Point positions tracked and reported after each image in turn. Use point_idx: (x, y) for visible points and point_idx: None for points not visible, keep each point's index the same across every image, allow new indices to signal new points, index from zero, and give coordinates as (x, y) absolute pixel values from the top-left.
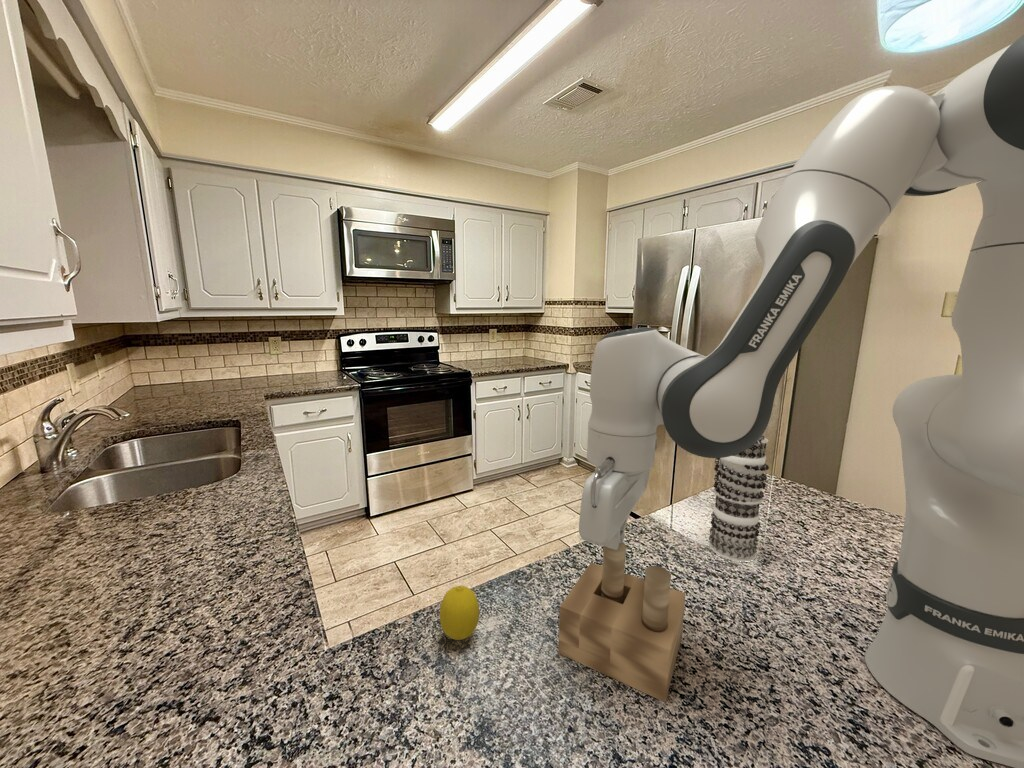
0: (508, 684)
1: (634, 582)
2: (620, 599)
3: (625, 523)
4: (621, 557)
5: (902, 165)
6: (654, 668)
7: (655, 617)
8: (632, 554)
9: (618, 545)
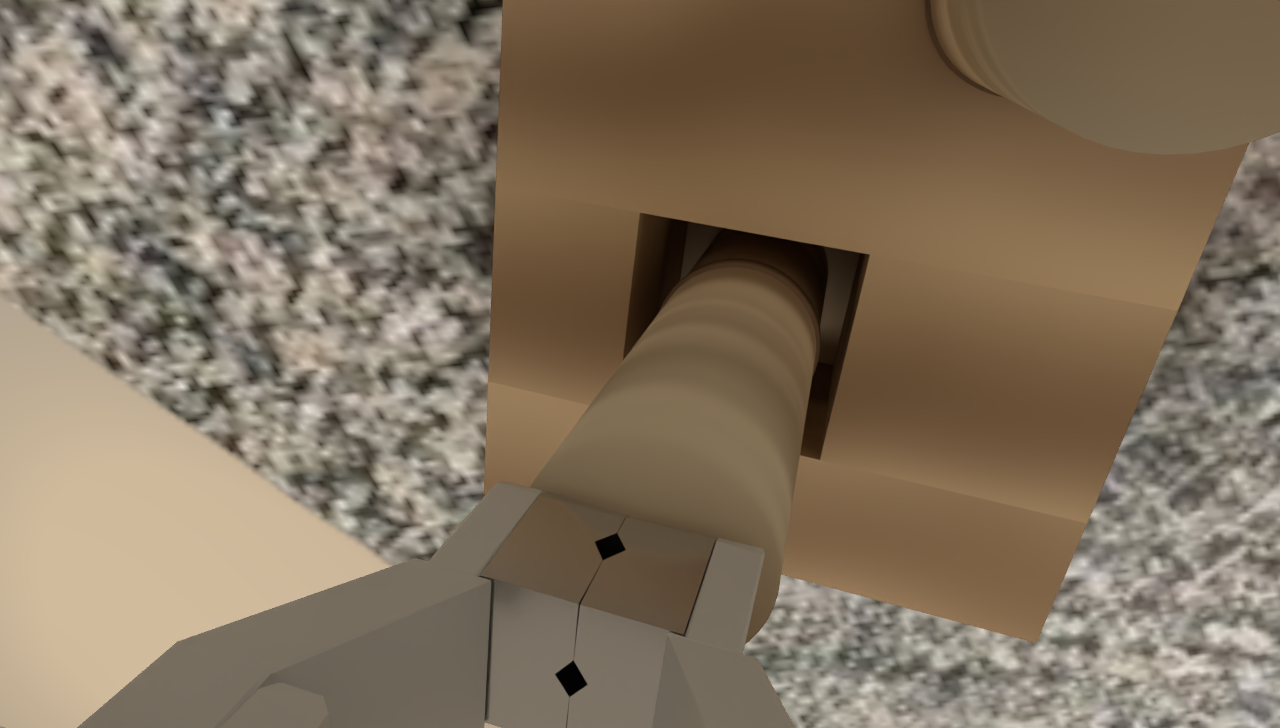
0: (1249, 635)
1: (567, 193)
2: (784, 271)
3: (374, 632)
4: (751, 441)
5: None
6: None
7: None
8: (100, 202)
9: (756, 577)
